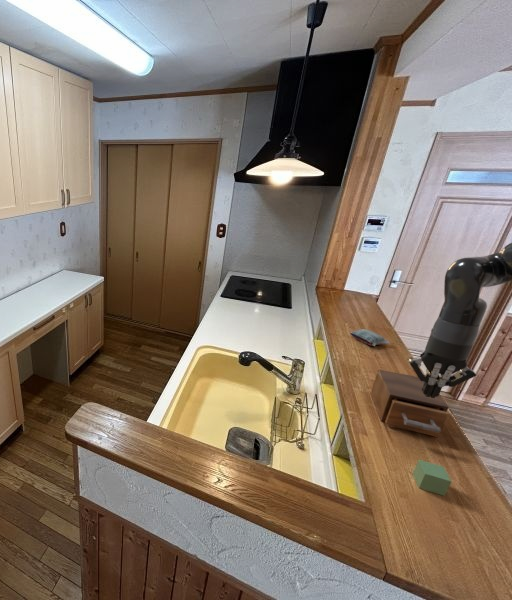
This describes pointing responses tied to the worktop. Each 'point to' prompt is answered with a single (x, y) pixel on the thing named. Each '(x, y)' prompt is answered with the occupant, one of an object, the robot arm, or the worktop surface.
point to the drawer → (415, 416)
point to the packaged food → (369, 337)
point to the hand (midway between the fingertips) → (428, 395)
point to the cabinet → (400, 392)
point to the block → (431, 477)
